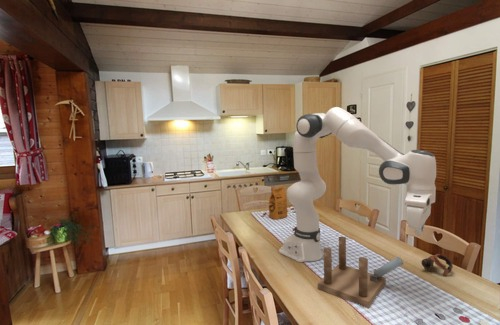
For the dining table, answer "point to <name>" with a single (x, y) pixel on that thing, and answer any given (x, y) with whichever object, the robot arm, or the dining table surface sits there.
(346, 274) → the stool seat
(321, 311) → the dining table surface
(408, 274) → the dining table surface
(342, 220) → the dining table surface
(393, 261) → the hinged leg
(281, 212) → the coffee package
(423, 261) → the pottery mug
